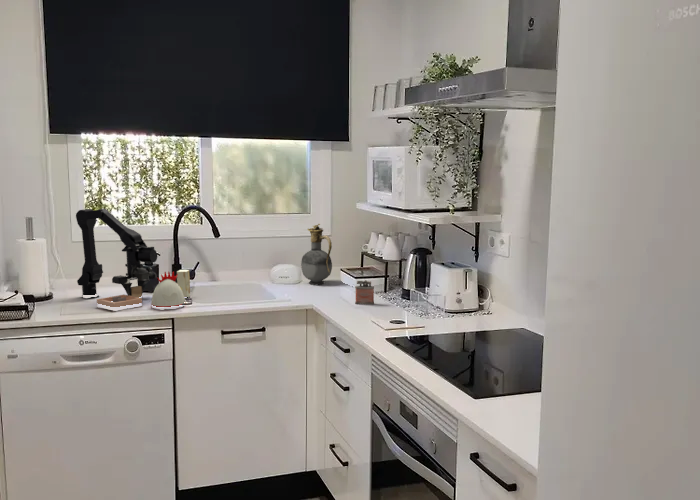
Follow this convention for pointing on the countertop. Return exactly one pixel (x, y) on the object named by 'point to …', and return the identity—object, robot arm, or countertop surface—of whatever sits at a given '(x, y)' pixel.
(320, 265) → the pitcher
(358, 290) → the lighter
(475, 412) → the countertop surface
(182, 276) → the skincare box
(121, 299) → the brown square tray
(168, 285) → the grey crested dome
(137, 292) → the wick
